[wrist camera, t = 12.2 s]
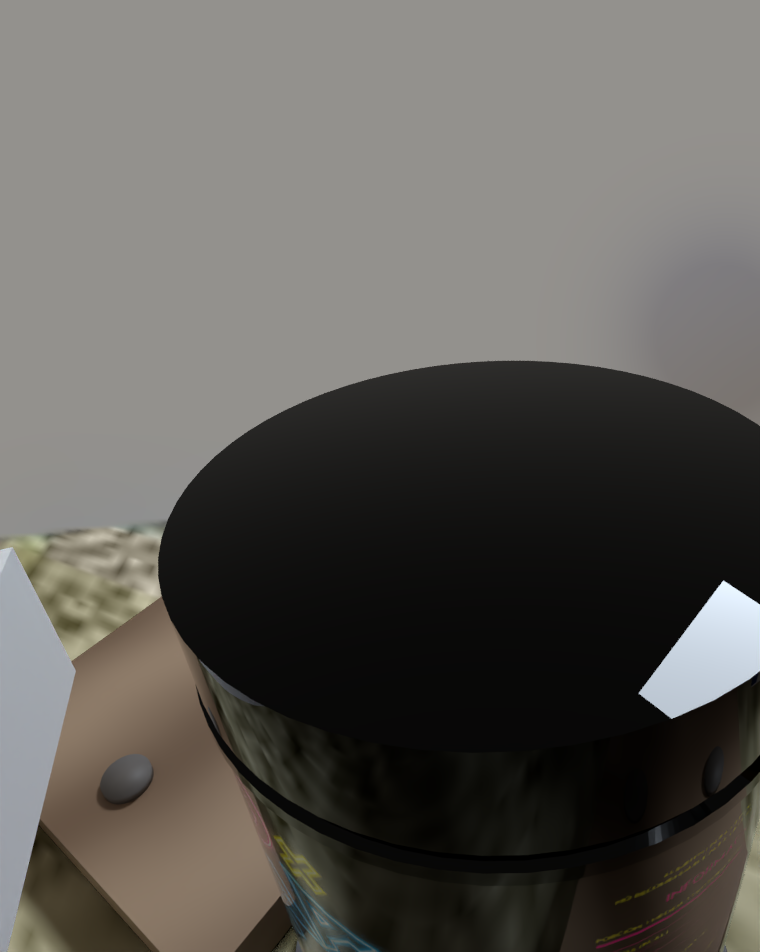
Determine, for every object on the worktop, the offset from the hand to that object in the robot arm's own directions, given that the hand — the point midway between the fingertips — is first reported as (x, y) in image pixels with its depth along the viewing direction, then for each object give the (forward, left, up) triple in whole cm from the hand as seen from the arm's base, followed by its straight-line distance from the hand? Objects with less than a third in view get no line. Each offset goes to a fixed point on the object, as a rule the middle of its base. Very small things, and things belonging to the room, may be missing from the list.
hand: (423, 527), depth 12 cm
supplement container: (+2, +3, -8) cm, 8 cm away
